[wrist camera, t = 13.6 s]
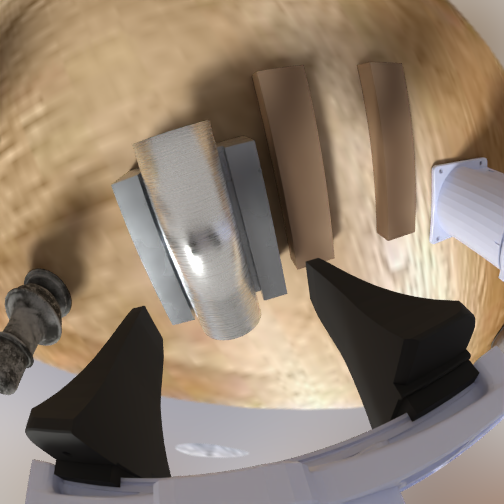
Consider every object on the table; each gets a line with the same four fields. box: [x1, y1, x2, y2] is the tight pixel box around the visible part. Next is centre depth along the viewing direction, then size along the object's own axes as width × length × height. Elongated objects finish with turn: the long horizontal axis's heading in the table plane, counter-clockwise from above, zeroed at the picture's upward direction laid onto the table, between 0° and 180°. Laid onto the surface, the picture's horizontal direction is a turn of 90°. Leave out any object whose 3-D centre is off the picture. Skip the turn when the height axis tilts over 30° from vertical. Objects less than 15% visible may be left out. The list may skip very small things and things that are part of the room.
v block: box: [111, 136, 287, 325], centre depth 18 cm, size 8×10×4 cm
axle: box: [132, 120, 261, 340], centre depth 15 cm, size 12×4×4 cm, turn 12°
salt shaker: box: [0, 269, 71, 395], centre depth 15 cm, size 6×6×12 cm
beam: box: [252, 62, 416, 269], centre depth 19 cm, size 11×14×2 cm
